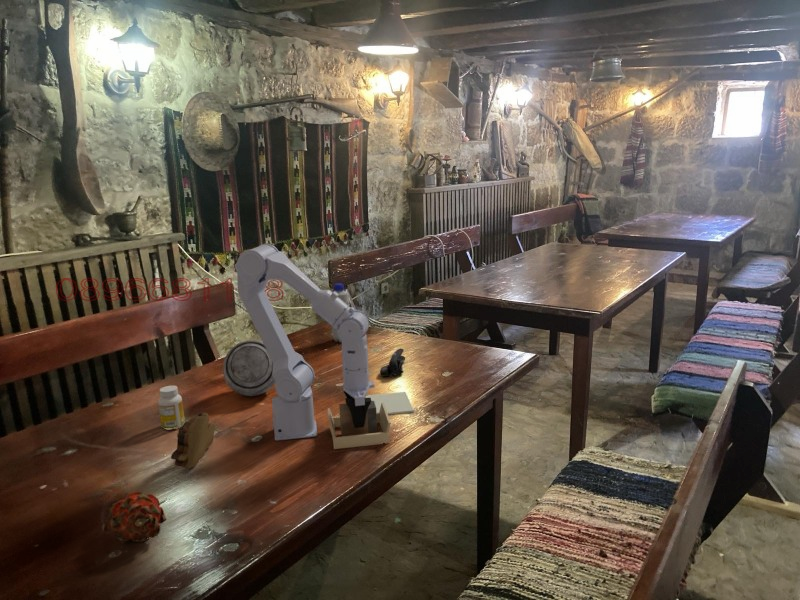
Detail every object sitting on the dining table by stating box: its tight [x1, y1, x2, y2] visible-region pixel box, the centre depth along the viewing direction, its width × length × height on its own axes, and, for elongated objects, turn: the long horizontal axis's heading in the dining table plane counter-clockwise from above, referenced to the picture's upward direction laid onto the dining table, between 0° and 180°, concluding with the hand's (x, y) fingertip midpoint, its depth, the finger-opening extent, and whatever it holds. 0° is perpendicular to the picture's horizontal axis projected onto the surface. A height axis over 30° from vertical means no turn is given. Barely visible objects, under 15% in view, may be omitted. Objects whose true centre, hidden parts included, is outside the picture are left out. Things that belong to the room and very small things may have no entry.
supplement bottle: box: [157, 385, 186, 428], centre depth 145 cm, size 5×5×10 cm
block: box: [338, 401, 378, 437], centre depth 138 cm, size 8×4×6 cm, turn 100°
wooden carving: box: [170, 412, 216, 469], centre depth 128 cm, size 16×5×10 cm, turn 178°
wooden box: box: [326, 403, 392, 450], centre depth 138 cm, size 13×11×5 cm
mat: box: [365, 391, 415, 416], centre depth 154 cm, size 12×12×1 cm
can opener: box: [379, 348, 406, 377], centre depth 179 cm, size 18×7×6 cm, turn 168°
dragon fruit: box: [101, 490, 167, 543], centre depth 104 cm, size 8×8×12 cm
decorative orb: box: [222, 339, 275, 397], centre depth 163 cm, size 15×14×15 cm
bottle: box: [331, 282, 350, 343], centre depth 205 cm, size 7×7×20 cm
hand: (358, 422), depth 138 cm, fingers closed on block, 4 cm apart
